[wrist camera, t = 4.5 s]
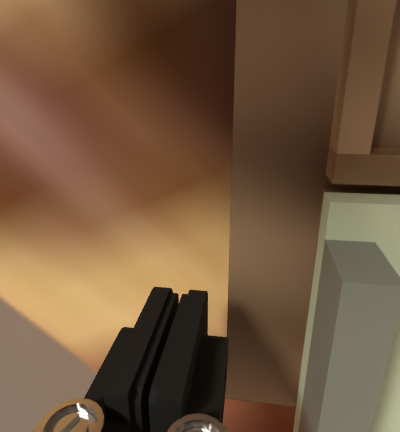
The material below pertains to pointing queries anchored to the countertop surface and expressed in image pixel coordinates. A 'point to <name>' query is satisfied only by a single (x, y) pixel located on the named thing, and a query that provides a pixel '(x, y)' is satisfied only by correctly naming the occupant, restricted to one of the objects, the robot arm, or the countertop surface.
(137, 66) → the countertop surface
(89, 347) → the countertop surface
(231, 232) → the board
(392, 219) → the lid
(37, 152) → the countertop surface
